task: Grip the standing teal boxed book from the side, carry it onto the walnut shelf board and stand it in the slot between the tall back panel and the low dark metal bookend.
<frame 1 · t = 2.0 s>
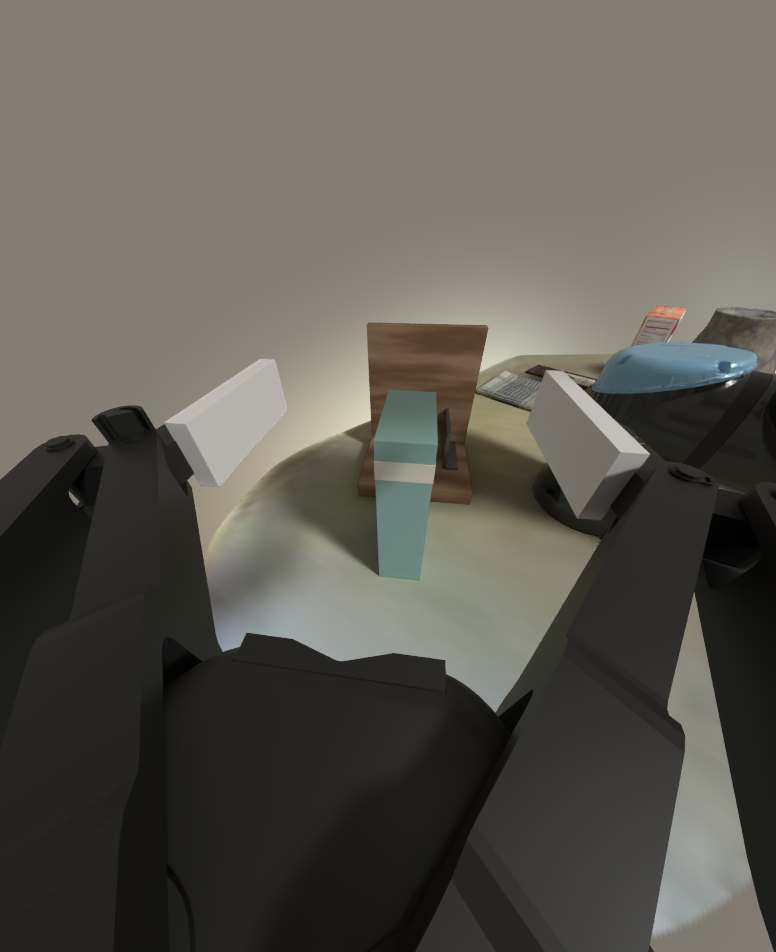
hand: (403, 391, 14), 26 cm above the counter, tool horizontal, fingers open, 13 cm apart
cracker box: (616, 403, 72), on the counter
vessel: (695, 396, 76), on the counter
dish towel: (519, 395, 78), on the counter
book: (402, 545, 38), on the counter
bookend: (451, 437, 48), point 6 cm above the counter
shelf: (409, 468, 51), on the counter
chocolate bar: (558, 378, 87), on the counter
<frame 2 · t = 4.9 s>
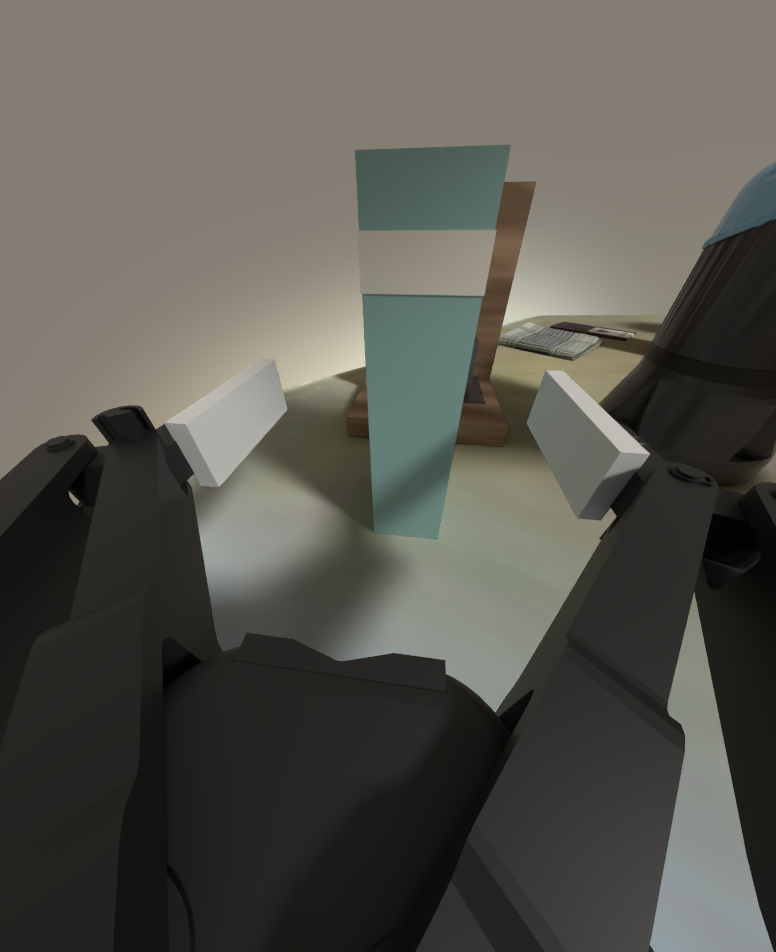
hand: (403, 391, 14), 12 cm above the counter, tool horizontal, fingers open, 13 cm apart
dish towel: (547, 347, 65), on the counter
book: (409, 492, 26), on the counter
bookend: (475, 362, 35), point 6 cm above the counter
shelf: (418, 409, 38), on the counter
chocolate bar: (589, 334, 74), on the counter
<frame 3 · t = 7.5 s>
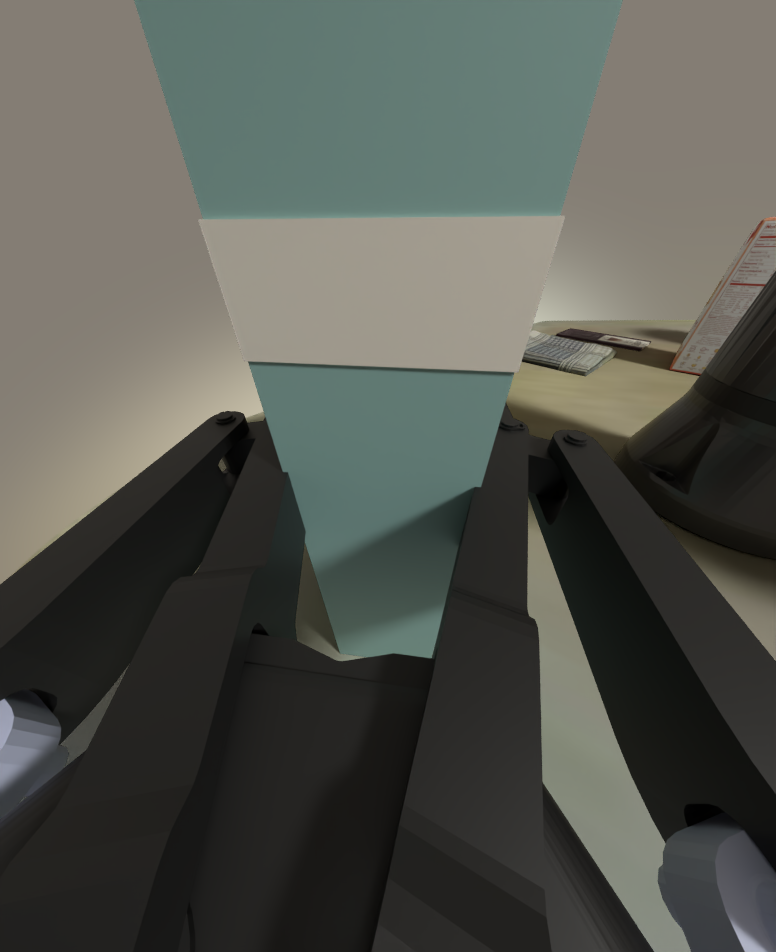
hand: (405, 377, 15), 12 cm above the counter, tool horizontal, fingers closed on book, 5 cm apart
cracker box: (688, 365, 54), on the counter
dish towel: (554, 358, 59), on the counter
book: (393, 577, 19), on the counter, touching gripper
chocolate bar: (599, 342, 68), on the counter
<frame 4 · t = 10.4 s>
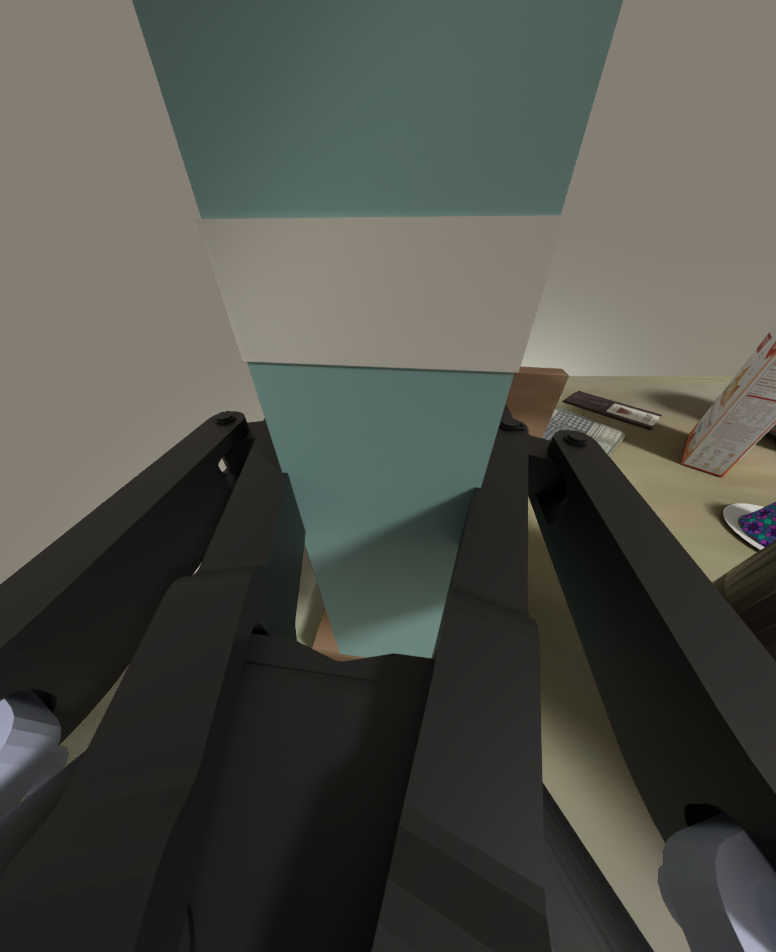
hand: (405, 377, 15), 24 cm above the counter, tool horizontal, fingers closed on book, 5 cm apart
cracker box: (700, 455, 52), on the counter
dish towel: (561, 438, 57), on the counter
book: (393, 577, 19), point 12 cm above the counter, touching gripper
shelf: (408, 589, 31), on the counter
chocolate bar: (608, 411, 67), on the counter
when the fingers open (16 cm above the counter, at t = 13.5 s): book drops 2 cm, resting on shelf.
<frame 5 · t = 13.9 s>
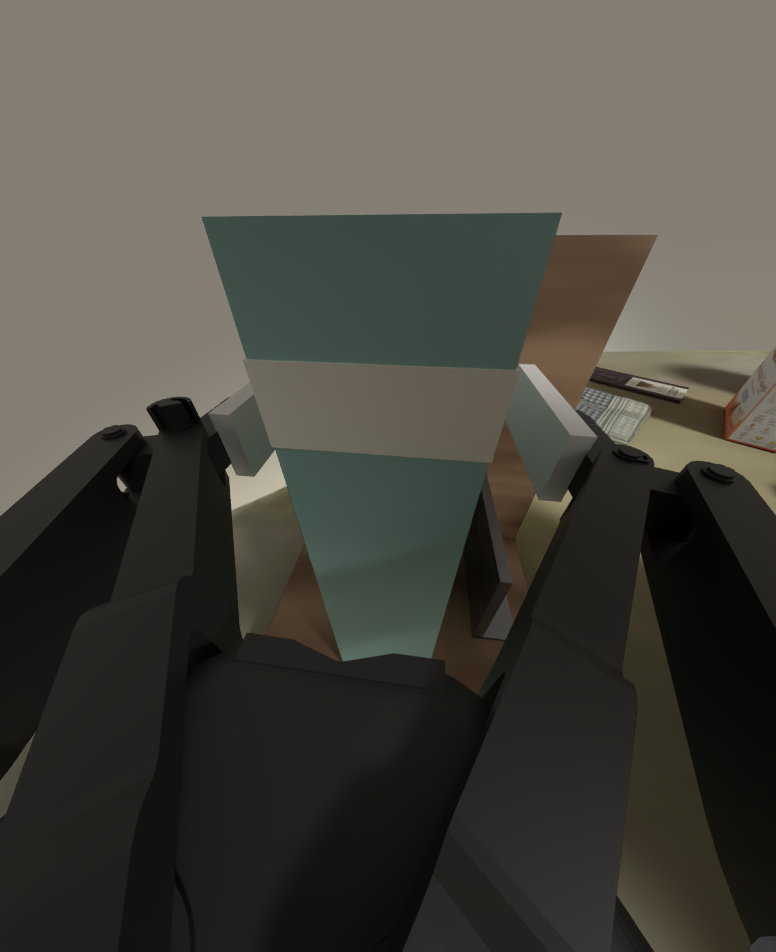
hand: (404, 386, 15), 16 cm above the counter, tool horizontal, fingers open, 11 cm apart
cracker box: (744, 429, 44), on the counter
dish towel: (577, 415, 49), on the counter
book: (393, 591, 20), point 2 cm above the counter, touching shelf
bookend: (495, 549, 19), point 6 cm above the counter
shelf: (392, 606, 22), on the counter
chocolate bar: (626, 386, 58), on the counter
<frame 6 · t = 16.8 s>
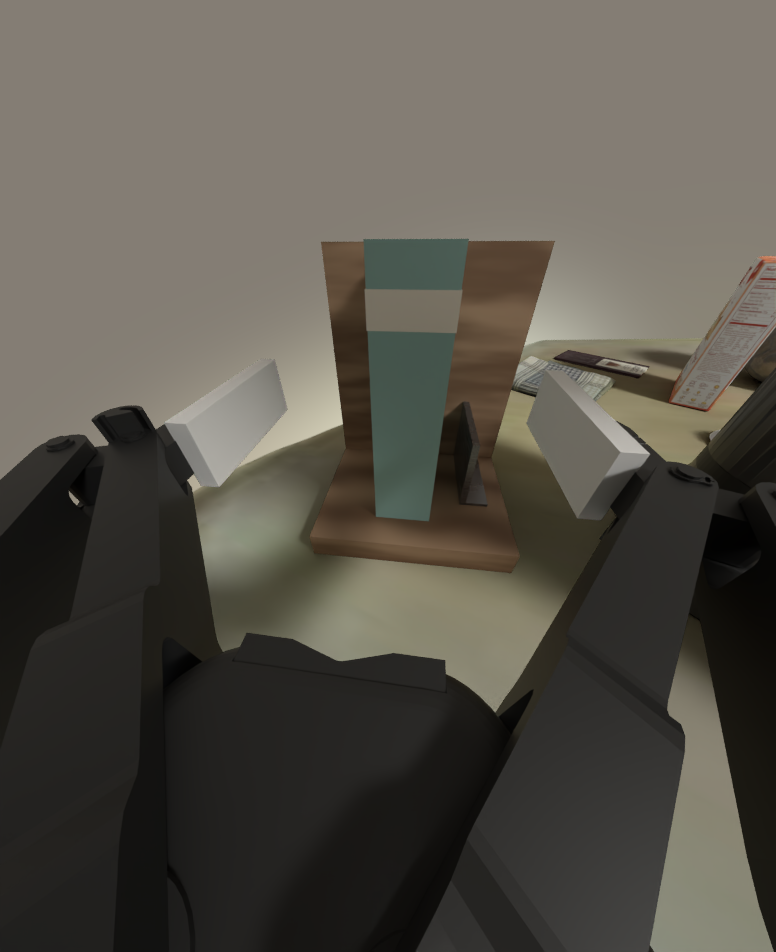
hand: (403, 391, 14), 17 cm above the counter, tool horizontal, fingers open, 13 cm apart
cracker box: (687, 396, 53), on the counter
dish towel: (552, 387, 58), on the counter
book: (405, 483, 30), point 2 cm above the counter, touching shelf
bookend: (474, 450, 28), point 6 cm above the counter
shelf: (404, 500, 31), on the counter
chocolate bar: (597, 366, 68), on the counter
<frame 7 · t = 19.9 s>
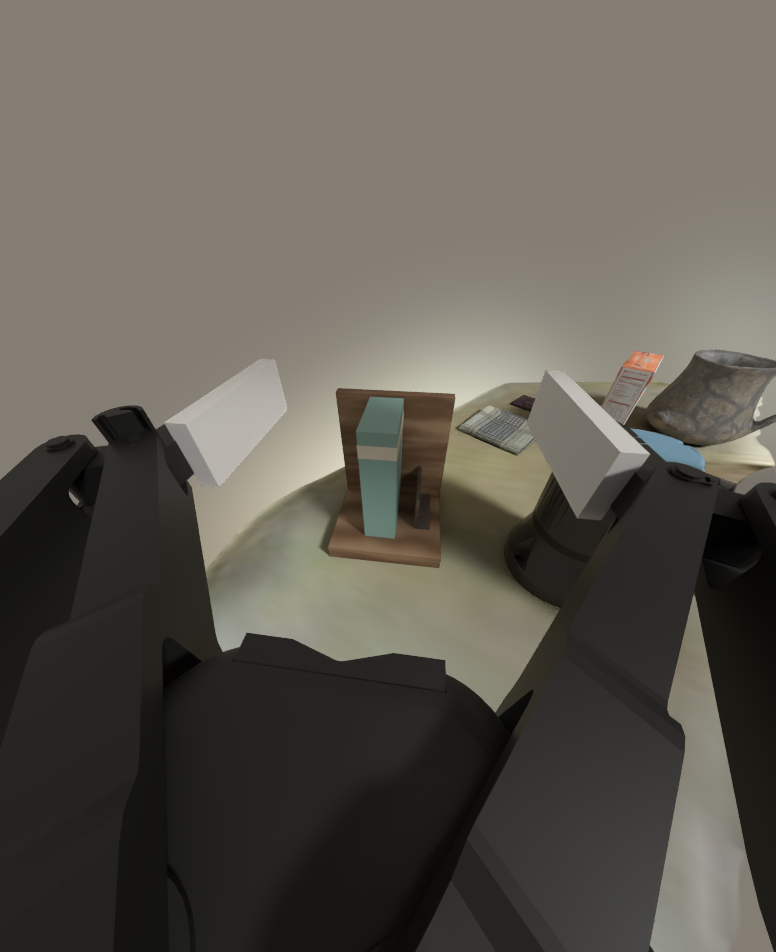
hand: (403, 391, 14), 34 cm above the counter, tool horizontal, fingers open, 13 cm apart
cracker box: (597, 442, 73), on the counter
vessel: (677, 434, 76), on the counter
dish towel: (502, 432, 78), on the counter
book: (383, 514, 50), point 2 cm above the counter, touching shelf
bookend: (423, 496, 48), point 6 cm above the counter
shelf: (383, 523, 51), on the counter
chocolate bar: (543, 411, 87), on the counter
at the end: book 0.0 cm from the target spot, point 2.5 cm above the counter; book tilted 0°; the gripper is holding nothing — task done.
